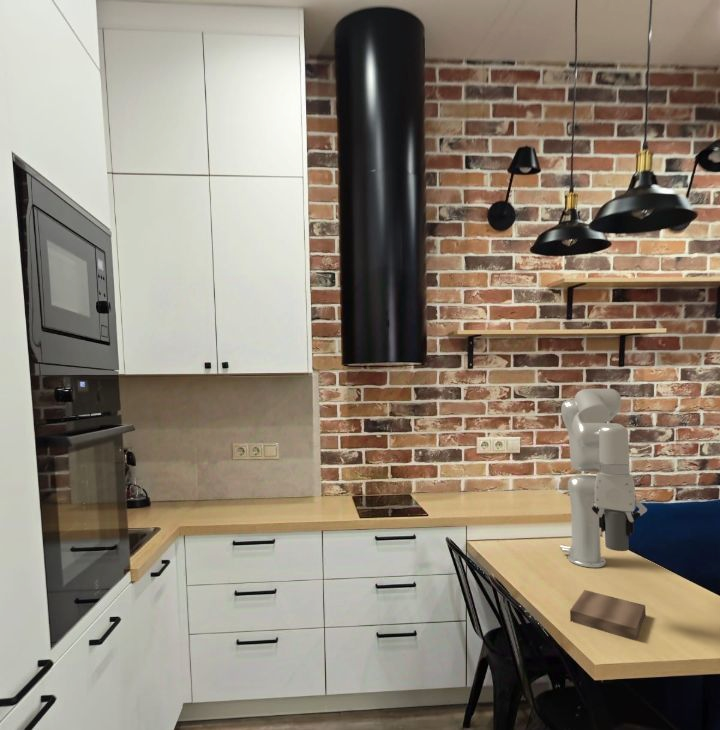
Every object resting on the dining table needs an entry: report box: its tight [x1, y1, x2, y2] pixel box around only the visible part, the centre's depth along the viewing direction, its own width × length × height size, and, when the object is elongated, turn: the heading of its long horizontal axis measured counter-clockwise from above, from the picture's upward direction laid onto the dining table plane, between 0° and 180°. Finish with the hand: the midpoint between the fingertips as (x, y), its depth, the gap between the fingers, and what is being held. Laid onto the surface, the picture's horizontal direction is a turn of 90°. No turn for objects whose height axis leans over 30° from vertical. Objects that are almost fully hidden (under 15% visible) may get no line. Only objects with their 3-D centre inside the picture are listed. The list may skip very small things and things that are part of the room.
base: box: [569, 589, 647, 642], centre depth 131 cm, size 16×16×3 cm
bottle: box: [604, 509, 630, 552], centre depth 132 cm, size 6×6×15 cm
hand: (616, 532), depth 132 cm, fingers closed on bottle, 5 cm apart
